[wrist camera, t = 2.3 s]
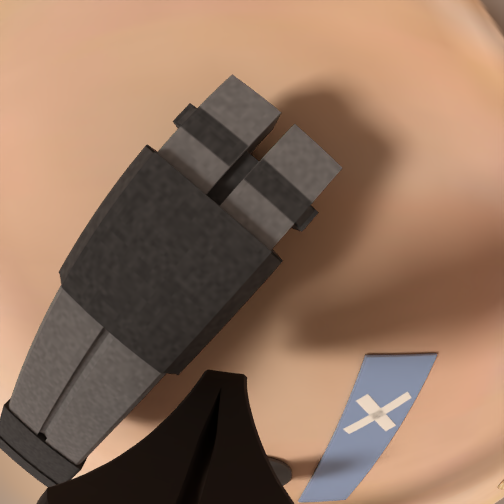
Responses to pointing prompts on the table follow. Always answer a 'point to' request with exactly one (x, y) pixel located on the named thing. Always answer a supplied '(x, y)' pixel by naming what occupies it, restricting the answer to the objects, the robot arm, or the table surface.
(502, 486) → the hand bell
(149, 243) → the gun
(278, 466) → the coaster
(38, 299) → the table surface
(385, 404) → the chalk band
